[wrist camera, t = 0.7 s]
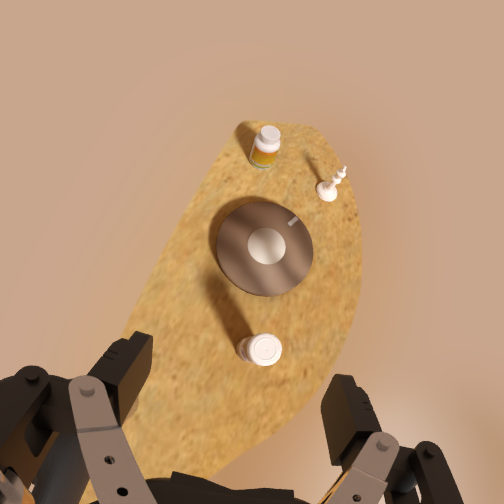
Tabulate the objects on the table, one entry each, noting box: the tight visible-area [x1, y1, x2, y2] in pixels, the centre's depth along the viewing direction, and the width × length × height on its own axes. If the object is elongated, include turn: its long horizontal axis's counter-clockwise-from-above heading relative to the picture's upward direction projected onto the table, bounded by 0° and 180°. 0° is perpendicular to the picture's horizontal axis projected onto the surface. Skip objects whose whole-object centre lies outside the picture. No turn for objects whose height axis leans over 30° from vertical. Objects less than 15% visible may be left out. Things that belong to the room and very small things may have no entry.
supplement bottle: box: [249, 126, 280, 170], centre depth 59 cm, size 5×5×10 cm
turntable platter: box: [216, 202, 313, 297], centre depth 54 cm, size 18×18×2 cm
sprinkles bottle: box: [236, 333, 282, 366], centre depth 44 cm, size 5×5×14 cm
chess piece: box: [316, 166, 346, 201], centre depth 59 cm, size 5×5×10 cm
